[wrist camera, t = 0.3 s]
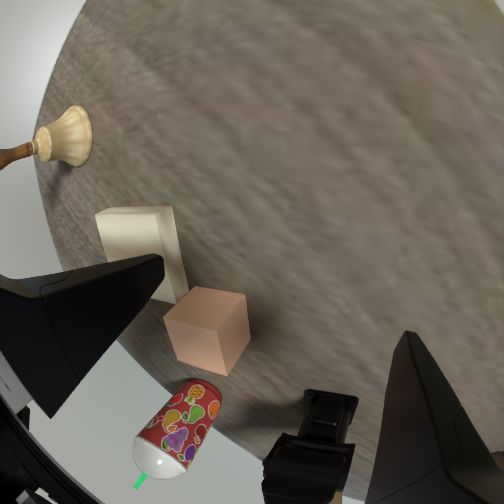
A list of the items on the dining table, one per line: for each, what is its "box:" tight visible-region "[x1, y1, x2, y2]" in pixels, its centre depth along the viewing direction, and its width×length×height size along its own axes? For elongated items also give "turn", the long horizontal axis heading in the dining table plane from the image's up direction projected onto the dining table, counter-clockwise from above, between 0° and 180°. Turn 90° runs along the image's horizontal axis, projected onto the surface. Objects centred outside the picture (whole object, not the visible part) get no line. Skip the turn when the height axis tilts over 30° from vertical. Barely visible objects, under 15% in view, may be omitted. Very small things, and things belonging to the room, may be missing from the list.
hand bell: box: [0, 105, 93, 170], centre depth 22 cm, size 8×8×16 cm
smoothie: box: [133, 379, 222, 489], centre depth 32 cm, size 8×8×20 cm
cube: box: [163, 286, 251, 376], centre depth 28 cm, size 6×6×6 cm
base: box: [95, 206, 189, 304], centre depth 30 cm, size 10×10×3 cm
